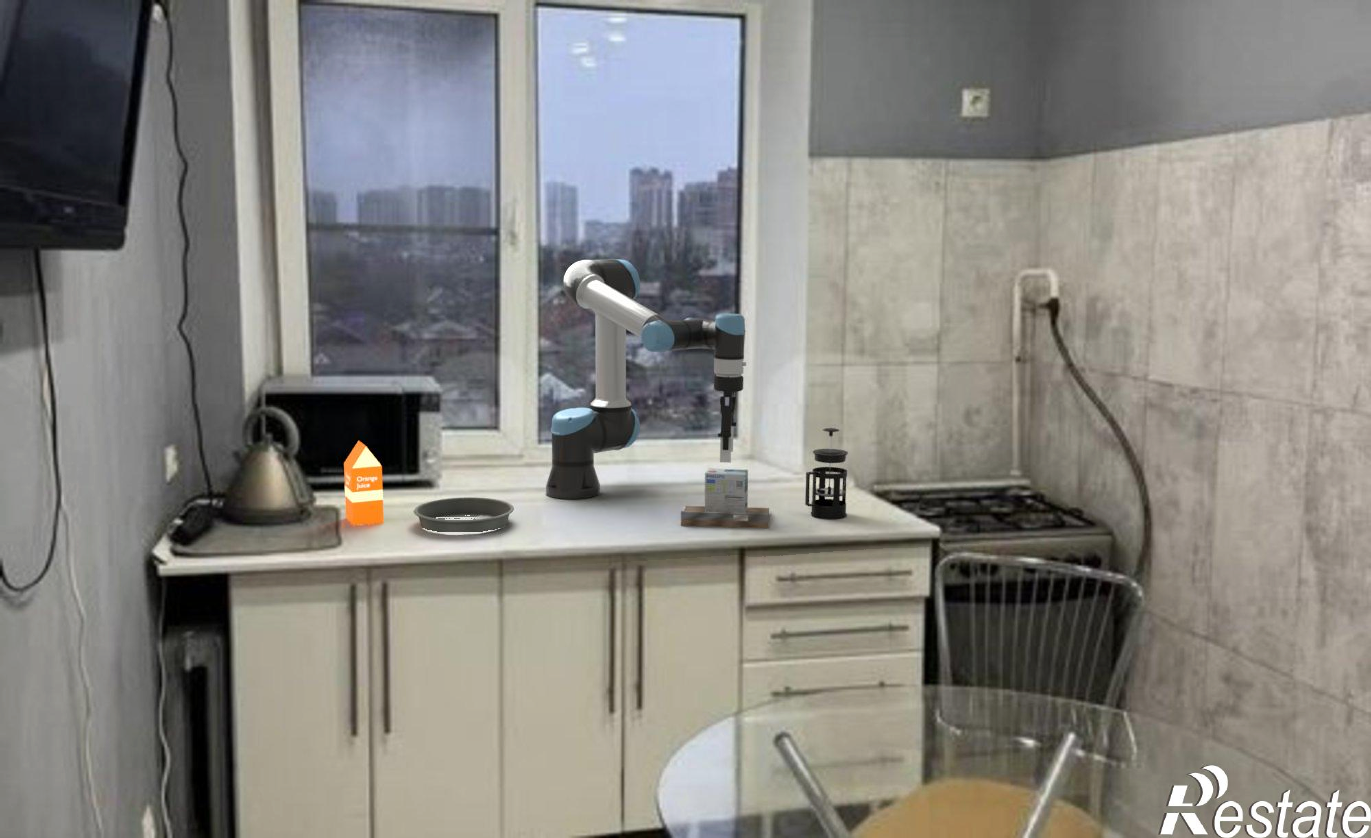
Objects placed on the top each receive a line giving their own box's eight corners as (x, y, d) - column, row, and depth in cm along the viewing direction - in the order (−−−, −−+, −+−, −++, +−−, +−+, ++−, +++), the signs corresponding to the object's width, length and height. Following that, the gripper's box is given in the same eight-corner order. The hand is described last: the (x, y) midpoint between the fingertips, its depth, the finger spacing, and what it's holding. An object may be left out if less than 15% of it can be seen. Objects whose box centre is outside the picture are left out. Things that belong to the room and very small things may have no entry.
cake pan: (471, 543, 281) (471, 525, 280) (393, 529, 292) (392, 511, 292) (533, 521, 302) (533, 504, 301) (458, 509, 314) (458, 492, 313)
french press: (839, 509, 316) (841, 424, 312) (855, 517, 307) (858, 430, 303) (798, 512, 312) (800, 426, 308) (813, 521, 303) (816, 432, 300)
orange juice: (353, 526, 294) (349, 447, 291) (345, 518, 302) (342, 441, 299) (384, 522, 298) (381, 444, 295) (376, 514, 306) (373, 438, 302)
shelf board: (680, 525, 297) (680, 512, 297) (685, 511, 312) (685, 498, 312) (768, 528, 296) (768, 514, 295) (769, 513, 311) (769, 500, 310)
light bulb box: (748, 509, 309) (748, 468, 307) (745, 515, 302) (746, 474, 301) (707, 507, 311) (708, 467, 309) (703, 513, 304) (704, 472, 302)
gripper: (741, 382, 289) (739, 467, 292) (745, 368, 313) (742, 447, 317) (711, 381, 289) (709, 466, 293) (716, 367, 314) (714, 446, 317)
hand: (726, 456), depth 305 cm, fingers open, 13 cm apart
